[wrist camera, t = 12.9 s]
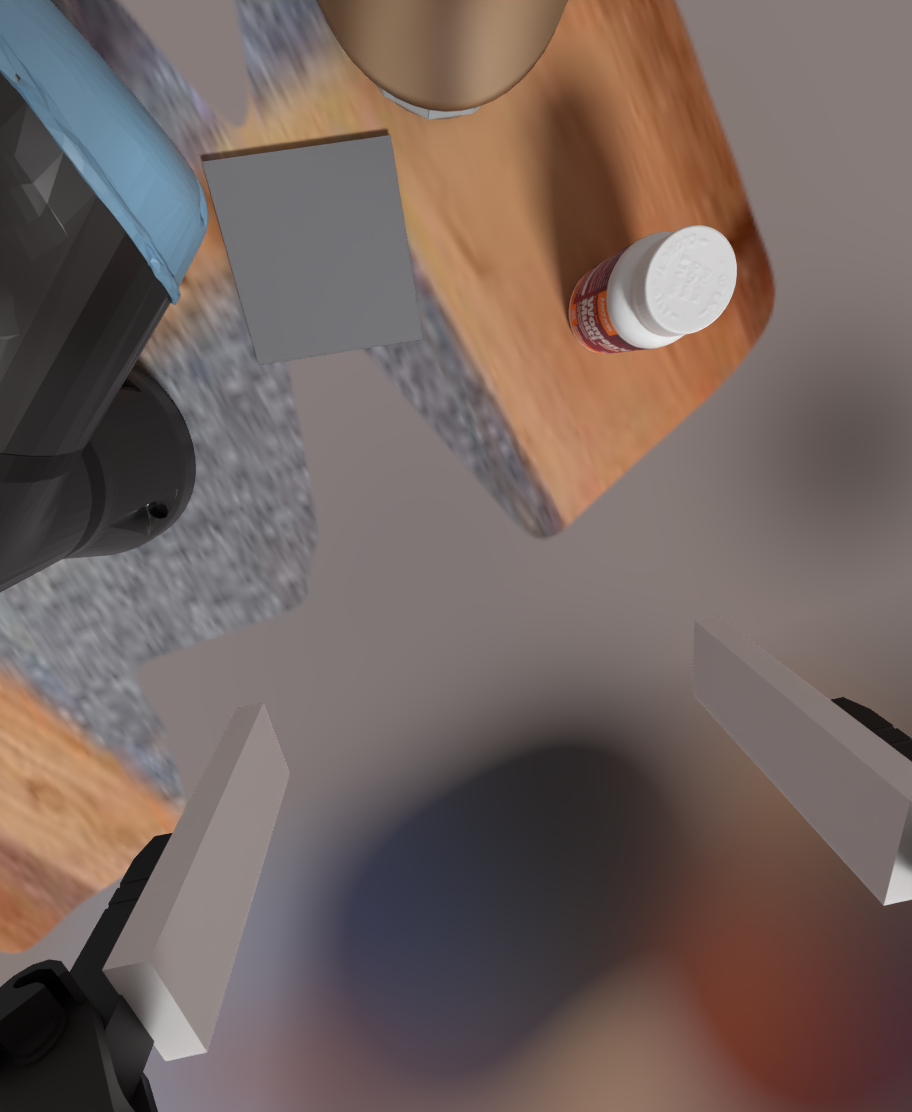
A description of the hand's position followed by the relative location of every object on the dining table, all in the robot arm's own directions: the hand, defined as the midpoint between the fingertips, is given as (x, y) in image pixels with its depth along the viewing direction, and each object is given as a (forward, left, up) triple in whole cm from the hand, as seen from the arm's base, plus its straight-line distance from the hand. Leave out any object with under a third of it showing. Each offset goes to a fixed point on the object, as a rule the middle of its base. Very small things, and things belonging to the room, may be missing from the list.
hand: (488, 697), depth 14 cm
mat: (-5, +18, -27) cm, 33 cm away
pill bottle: (+15, +12, -27) cm, 33 cm away
